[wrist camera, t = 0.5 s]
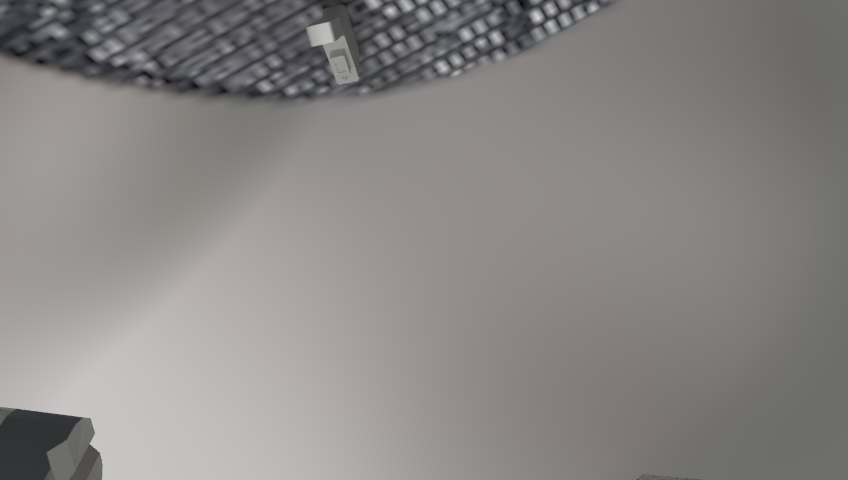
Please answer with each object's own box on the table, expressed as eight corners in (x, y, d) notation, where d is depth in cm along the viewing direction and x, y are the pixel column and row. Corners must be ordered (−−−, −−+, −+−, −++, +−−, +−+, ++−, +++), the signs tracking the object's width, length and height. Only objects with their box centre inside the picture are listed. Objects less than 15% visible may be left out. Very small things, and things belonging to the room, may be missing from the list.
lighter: (359, 49, 58) (359, 109, 52) (339, 53, 58) (337, 114, 53) (332, -32, 53) (329, 26, 47) (310, -27, 53) (304, 32, 48)
